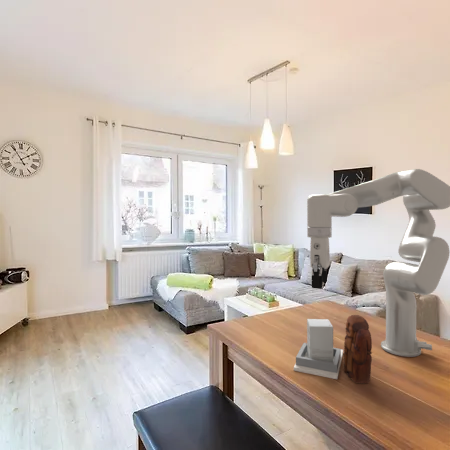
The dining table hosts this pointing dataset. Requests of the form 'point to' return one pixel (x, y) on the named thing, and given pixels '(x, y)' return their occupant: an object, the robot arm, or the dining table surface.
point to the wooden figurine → (357, 349)
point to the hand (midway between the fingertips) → (319, 285)
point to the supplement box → (320, 339)
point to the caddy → (318, 363)
